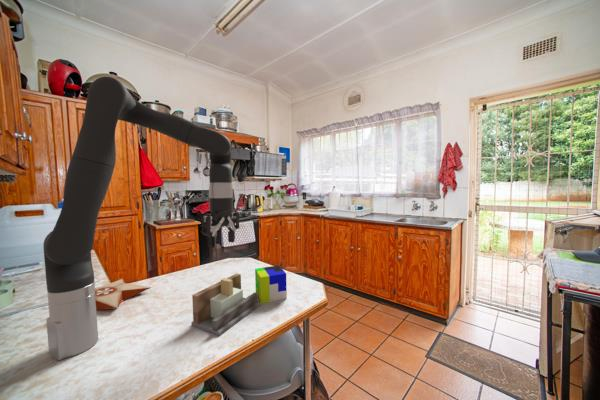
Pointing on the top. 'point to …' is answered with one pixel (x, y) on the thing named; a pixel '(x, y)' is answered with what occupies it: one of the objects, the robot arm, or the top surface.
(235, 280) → the board
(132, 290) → the decorative star
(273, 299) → the puzzle toy
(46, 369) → the top surface
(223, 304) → the wide pale green cuboid
